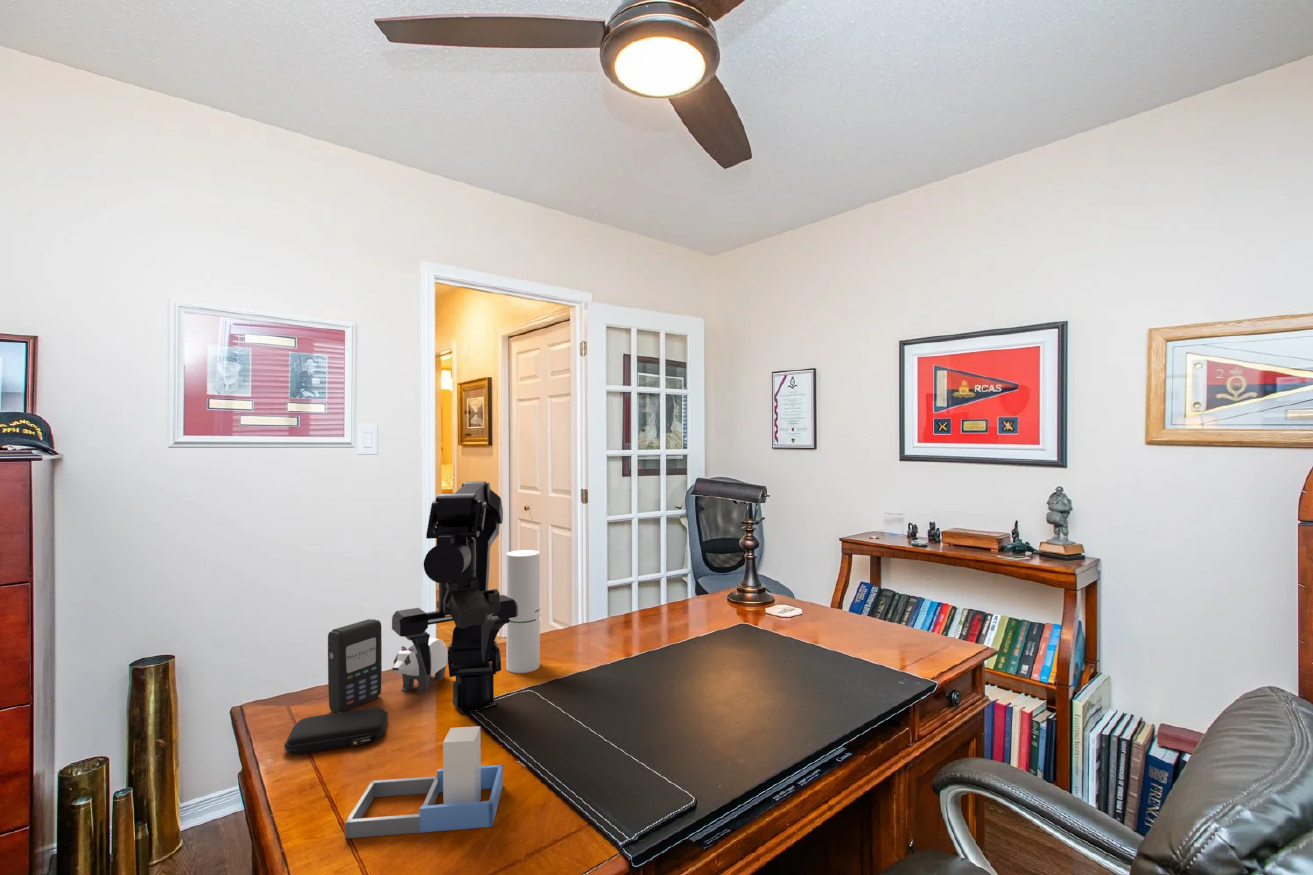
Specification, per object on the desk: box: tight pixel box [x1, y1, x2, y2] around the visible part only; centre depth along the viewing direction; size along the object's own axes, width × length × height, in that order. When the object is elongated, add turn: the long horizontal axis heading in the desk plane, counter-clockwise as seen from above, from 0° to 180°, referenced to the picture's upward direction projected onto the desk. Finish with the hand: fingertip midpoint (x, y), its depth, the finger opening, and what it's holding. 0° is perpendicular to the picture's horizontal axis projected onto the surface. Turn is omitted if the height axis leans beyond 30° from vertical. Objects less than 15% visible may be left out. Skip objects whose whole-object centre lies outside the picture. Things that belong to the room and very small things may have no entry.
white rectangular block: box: [442, 725, 482, 804], centre depth 80 cm, size 4×4×10 cm
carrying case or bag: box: [283, 706, 389, 756], centre depth 100 cm, size 11×3×15 cm
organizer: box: [344, 764, 504, 839], centre depth 80 cm, size 18×9×3 cm, turn 97°
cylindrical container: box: [505, 549, 541, 674], centre depth 131 cm, size 7×7×25 cm
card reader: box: [327, 618, 383, 713], centre depth 113 cm, size 9×4×15 cm, turn 151°
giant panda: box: [391, 637, 448, 694], centre depth 120 cm, size 15×6×10 cm, turn 168°
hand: (456, 667), depth 96 cm, fingers open, 9 cm apart
